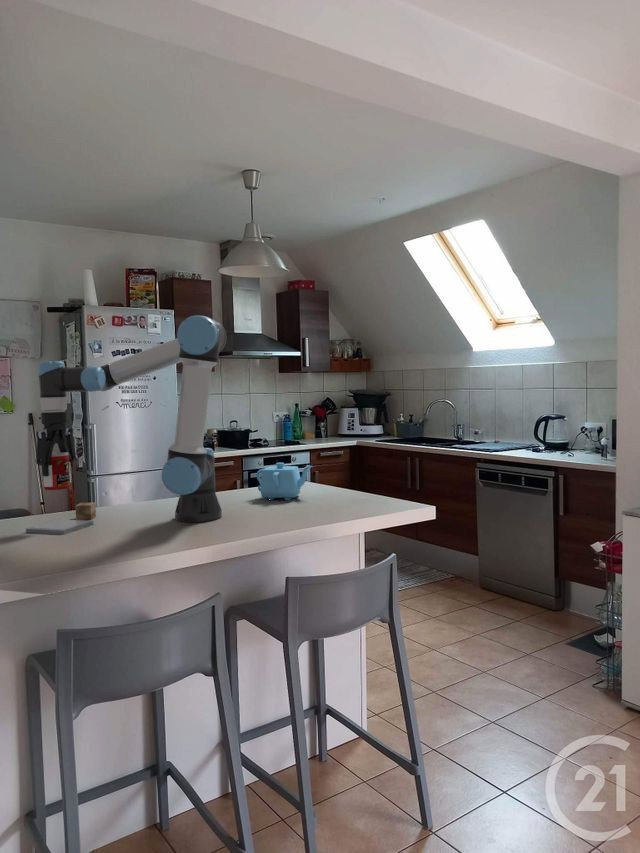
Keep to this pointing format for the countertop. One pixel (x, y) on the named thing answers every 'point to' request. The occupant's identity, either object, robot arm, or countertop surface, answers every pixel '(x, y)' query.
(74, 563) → the countertop surface
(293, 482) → the teapot
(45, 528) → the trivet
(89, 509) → the walnut block
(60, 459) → the canned food
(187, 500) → the robot arm
